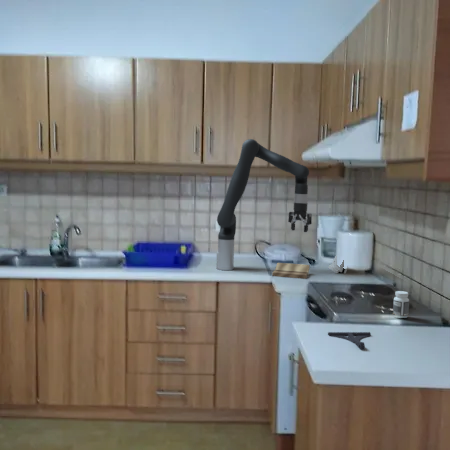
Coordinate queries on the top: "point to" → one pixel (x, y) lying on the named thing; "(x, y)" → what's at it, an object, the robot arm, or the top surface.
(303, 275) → the walnut plank
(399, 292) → the pill bottle
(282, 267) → the oak plank
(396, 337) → the top surface
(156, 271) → the top surface
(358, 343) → the bracket
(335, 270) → the white crumpled paper
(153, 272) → the top surface
